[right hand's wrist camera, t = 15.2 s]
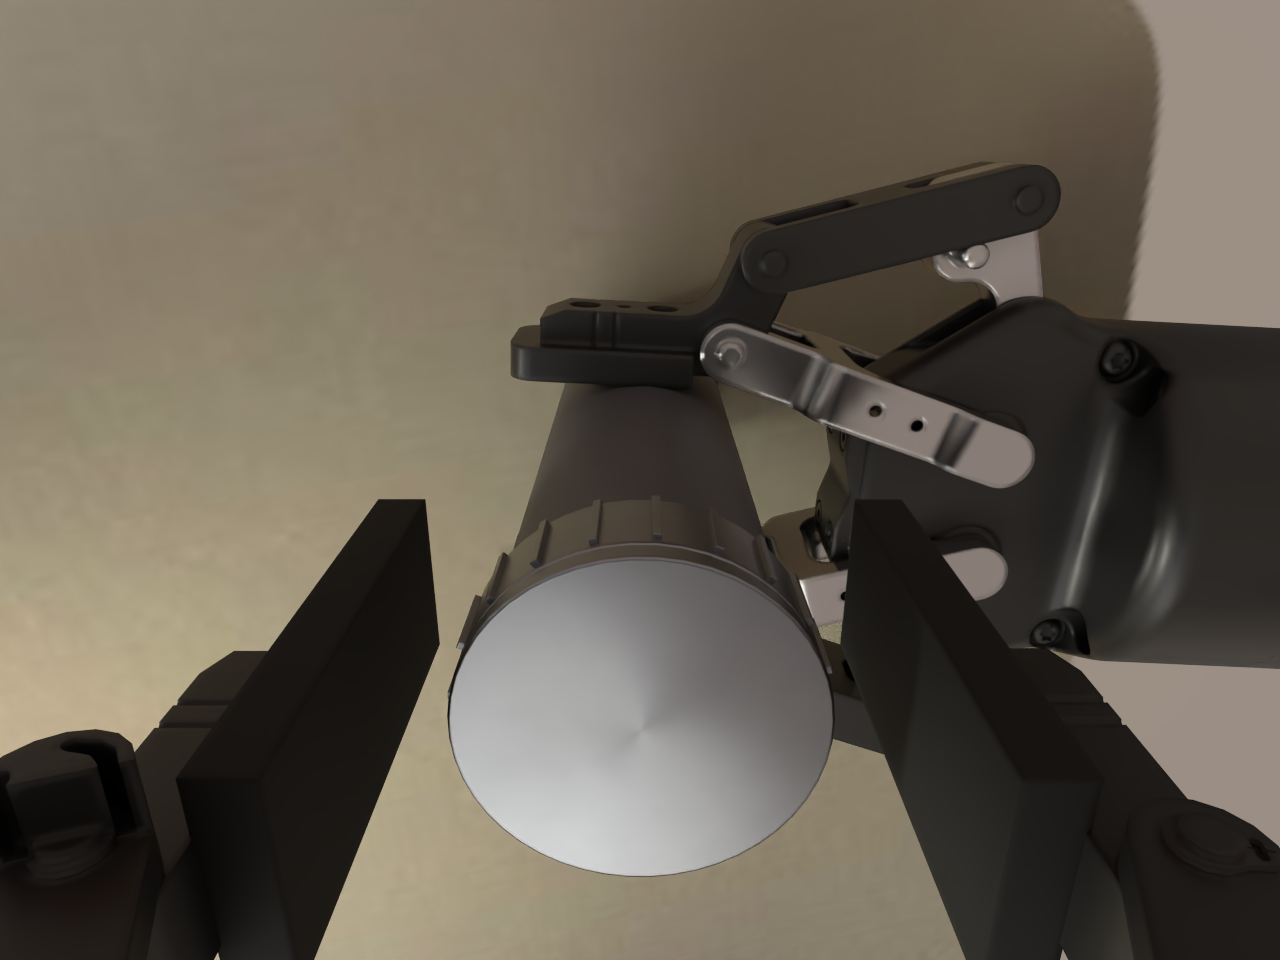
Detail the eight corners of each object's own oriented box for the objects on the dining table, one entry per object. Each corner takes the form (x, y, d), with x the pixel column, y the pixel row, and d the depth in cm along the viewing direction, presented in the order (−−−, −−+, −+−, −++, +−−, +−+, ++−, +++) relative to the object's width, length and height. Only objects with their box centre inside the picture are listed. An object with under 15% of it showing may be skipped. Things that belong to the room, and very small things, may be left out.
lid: (396, 635, 12) (358, 711, 10) (662, 420, 11) (666, 468, 9) (623, 840, 13) (621, 937, 12) (882, 668, 12) (918, 748, 11)
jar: (677, 288, 24) (730, 498, 10) (735, 419, 26) (852, 766, 11) (543, 350, 25) (414, 630, 11) (606, 474, 26) (566, 868, 12)
